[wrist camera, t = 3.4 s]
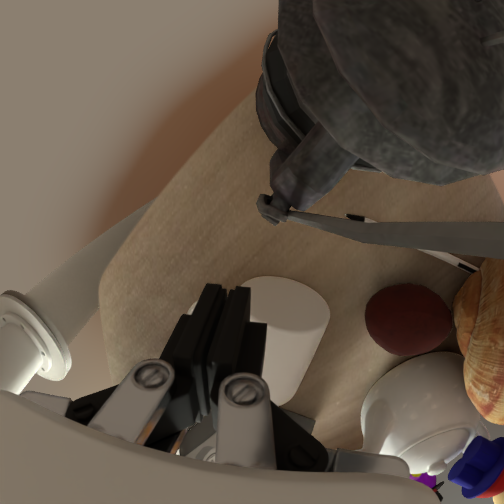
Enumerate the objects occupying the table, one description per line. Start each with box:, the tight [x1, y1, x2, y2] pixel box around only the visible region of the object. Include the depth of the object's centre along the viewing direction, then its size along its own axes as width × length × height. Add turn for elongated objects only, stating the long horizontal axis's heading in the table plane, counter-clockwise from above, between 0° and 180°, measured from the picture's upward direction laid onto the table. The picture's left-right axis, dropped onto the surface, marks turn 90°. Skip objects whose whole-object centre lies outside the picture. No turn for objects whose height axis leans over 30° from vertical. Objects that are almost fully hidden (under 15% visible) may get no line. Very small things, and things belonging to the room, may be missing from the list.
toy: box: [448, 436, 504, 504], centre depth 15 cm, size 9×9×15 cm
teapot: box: [354, 352, 491, 476], centre depth 27 cm, size 19×18×14 cm
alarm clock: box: [179, 408, 315, 463], centre depth 31 cm, size 20×16×20 cm
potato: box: [365, 283, 453, 356], centre depth 25 cm, size 7×10×6 cm
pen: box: [344, 214, 479, 274], centre depth 24 cm, size 1×19×1 cm, turn 72°
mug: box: [187, 276, 330, 406], centre depth 26 cm, size 12×10×8 cm
